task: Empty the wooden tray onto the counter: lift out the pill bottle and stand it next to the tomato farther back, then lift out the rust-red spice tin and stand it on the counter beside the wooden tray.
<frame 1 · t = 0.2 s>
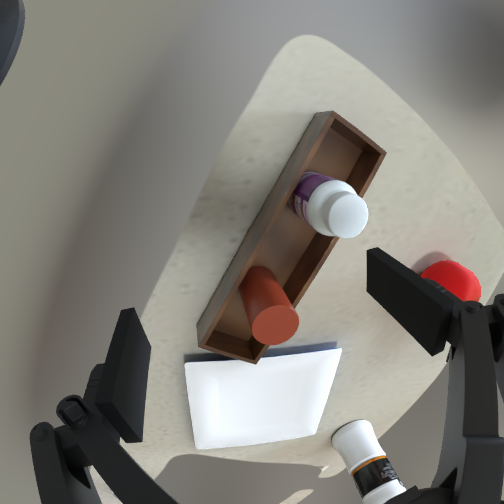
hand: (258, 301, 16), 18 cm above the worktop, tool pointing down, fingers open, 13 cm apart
pill bottle: (307, 194, 33), resting on wooden tray
plate: (259, 399, 45), on the worktop
spice tin: (256, 283, 36), resting on wooden tray
vodka: (349, 430, 55), on the worktop
wooden tray: (281, 239, 35), on the worktop
tomato: (424, 283, 43), on the worktop
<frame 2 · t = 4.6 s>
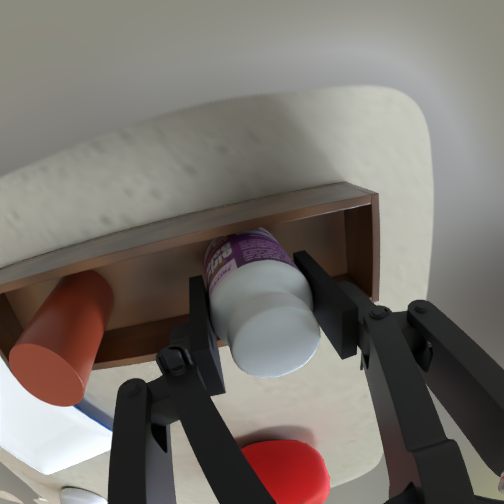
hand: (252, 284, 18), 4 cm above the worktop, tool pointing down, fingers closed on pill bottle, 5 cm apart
pill bottle: (241, 258, 21), resting on wooden tray, touching gripper
plate: (9, 401, 23), on the worktop
spice tin: (86, 295, 20), resting on wooden tray
vodka: (85, 495, 32), on the worktop
wooden tray: (159, 276, 21), on the worktop
tomato: (269, 448, 32), on the worktop
when the fingers open (3 cm above the worktop, at t = 23.4 s): pill bottle stays where it is, on the worktop.
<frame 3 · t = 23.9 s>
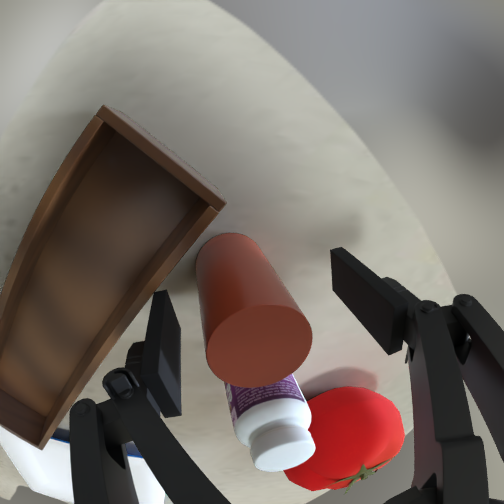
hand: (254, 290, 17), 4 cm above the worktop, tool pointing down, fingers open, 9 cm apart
pill bottle: (252, 361, 24), on the worktop
plate: (84, 471, 27), on the worktop
spice tin: (229, 265, 20), on the worktop
wooden tray: (58, 314, 19), on the worktop
tomato: (321, 404, 29), on the worktop
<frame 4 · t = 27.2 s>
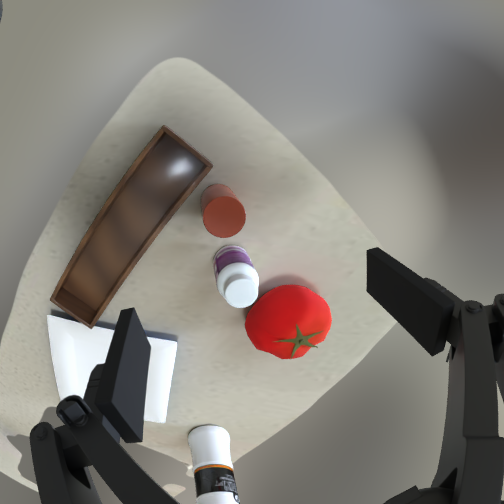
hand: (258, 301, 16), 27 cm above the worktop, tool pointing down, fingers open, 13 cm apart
pill bottle: (230, 261, 44), on the worktop
plate: (111, 370, 47), on the worktop
spice tin: (217, 200, 40), on the worktop
vodka: (208, 433, 58), on the worktop
wooden tray: (124, 229, 39), on the worktop
tomato: (279, 305, 48), on the worktop
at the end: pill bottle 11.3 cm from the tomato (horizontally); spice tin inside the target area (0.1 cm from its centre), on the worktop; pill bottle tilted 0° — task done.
